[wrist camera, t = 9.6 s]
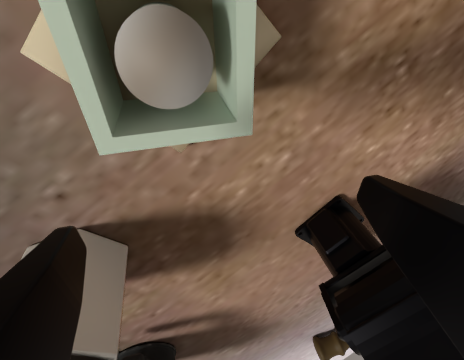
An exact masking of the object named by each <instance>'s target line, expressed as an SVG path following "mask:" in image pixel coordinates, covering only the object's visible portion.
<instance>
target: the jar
mask: <svg viewBox="0 0 464 360" xmlns="http://www.w3.org/2000/svg"><path fill="white" fill-rule="evenodd" d="M77 230H78V232H79V234H80V236H81V238H82V239H83V241H84V243H85V245H86V249H87V256H86V267H85V278H84V288H83V298H82V306H81V312H80V317H79V321H78V326H77V331H76V335H75V340H74V345H73V349H72V354H71V359H70V360H118V355H119V345H120V334H121V324H122V314H123V304H124V294H125V284H126V273H127V259H128V246H127V245H124V244H121V243H119V242H116V241H113V240H110V239H107V238H105V237H102V236H99V235H96V234H93V233H90V232H88V231H85V230H82V229H77ZM38 244H39V243H38ZM38 244H35V245H32V246H29V247H28V248H27V249H26V251H25V253H24V255H23V257H22V259H23V258H24V257H25V256H26V255H27V254H28V253H29V252H30V251H32V250H33V249H34V248H35V247H36V246H37V245H38Z"/></svg>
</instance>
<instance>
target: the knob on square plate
mask: <svg viewBox="0 0 464 360" xmlns="http://www.w3.org/2000/svg"><path fill="white" fill-rule="evenodd" d="M95 3H96V7H97V10H98V14H99V17H100V21H101V24H102V28H103V31H104V35H105V38H106V42H107V45H108V49H109V52H110V56H111V59H112V63H113V66H114V70H115V73H116V77H117V80H118V84H119V87H120V91H121V94H122V98H123V101H124V100H134V99H139V100H141V101H143V102H144V103H146V104H148V105H150V106H153V107H156V108H161V109H177V108H182V107H185V106H187V105H189V104H191V103H193V102H194V101H196V100H197V99H198V98H199V97H200V96H201V95H202V94H203V93H204V92H214V91H217V78H216V60H215V42H214V24H213V6H212V0H95ZM280 38H281V35H280V34H279V33H278V31H277V30H276V29H275V27H274V26H273V25H272V23H271V22H270V21H269V19H268V18H267V17H266V16H265V14H264V13H263V12H262V10H261V9H260V8H259V6H258V5H257V4H256V33H255V64H254V68H255V67H256V66H257V65H258V63H259V62H260V61H261V60H262V59H263V58H264V56H265V55H266V54H267V53H268V52H269V51H270V49H271V48H272V47H273V46H274V45H275V44H276V43H277V41H278V40H279V39H280ZM20 52H21V53H22V54H24V55H25V56H27V57H29V58H30V59H32V60H33V61H35V62H37V63H38V64H40V65H41V66H43V67H44V68H46V69H48V70H49V71H51V72H52V73H54V74H56V75H57V76H59V77H60V78H62V79H64V80H65V81H67V82H68V83H70V84H71V82H70V79H69V77H68V74H67V72H66V69H65V67H64V64H63V62H62V59H61V57H60V54H59V52H58V49H57V47H56V44H55V42H54V39H53V37H52V34H51V32H50V29H49V27H48V24H47V21H46V19H45V16H44V14H43V11H42V10H41V12H40V14H39V16H38V18H37V20H36V22H35V24H34V26H33V28H32V30H31V32H30V34H29V36H28V37H27V39H26V41H25V43H24V45H23V47H22V49H21V51H20ZM188 145H189V143H188V144H180V145H173V146H170V147H172V148H174V149H175V150H177V151H178V152H180V153H182V152H183V150H184V149H185V148H186V147H187V146H188Z"/></svg>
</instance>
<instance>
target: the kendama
mask: <svg viewBox="0 0 464 360" xmlns="http://www.w3.org/2000/svg"><path fill="white" fill-rule="evenodd" d="M313 343H314V346H315V349H316V352H317V354H318V356H319V358H320V360H330V359H331V358H332V357H334V356H336V355H342V356H344V355H345V352H346V350H347V349H348V348H350V347H349V345H348V344H347V343H346V342H345V341H342V340H340V339H339V337H338V335H337V333H336V332H334V331H332V332H331V334H330V335H329V336H326V337H316V336H314V337H313Z"/></svg>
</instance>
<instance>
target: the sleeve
mask: <svg viewBox="0 0 464 360" xmlns="http://www.w3.org/2000/svg"><path fill="white" fill-rule="evenodd" d="M38 1H39V4H40V6H41V9H42V11H43V14H44V16H45V19H46V21H47V24H48V27H49V29H50V32H51V34H52V37H53V39H54V42H55V44H56V47H57V49H58V52H59V54H60V57H61V59H62V62H63V64H64V67H65V69H66V72H67V74H68V77H69V79H70V82H71V84H72V87H73V89H74V92H75V94H76V97H77V99H78V102H79V105H80V107H81V110H82V112H83V115H84V117H85V120H86V122H87V125H88V127H89V130H90V132H91V135H92V137H93V140H94V142H95V145H96V147H97V150H98V152H99V155H106V154H114V153H121V152H129V151H136V150H143V149H151V148H158V147H166V146H173V145H180V144H188V143H195V142H202V141H210V140H217V139H225V138H232V137H239V136H247V135H252V127H253V96H254V64H255V33H256V1H257V0H212V6H213V24H214V42H215V60H216V78H217V91H214V92H204V93H203V94H202V95H201V96H200V97H199V98H198V99H197V100H196V101H194V102H193V103H191V104H189V105H187V106H185V107H182V108H177V109H161V108H156V107H153V106H150V105H148V104H146V103H144V102H143V101H141V100H139V99H134V100H124V101H123V98H122V94H121V91H120V87H119V84H118V80H117V77H116V73H115V70H114V66H113V63H112V59H111V56H110V52H109V49H108V45H107V42H106V38H105V35H104V31H103V28H102V24H101V21H100V17H99V14H98V10H97V7H96V3H95V0H38Z"/></svg>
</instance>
